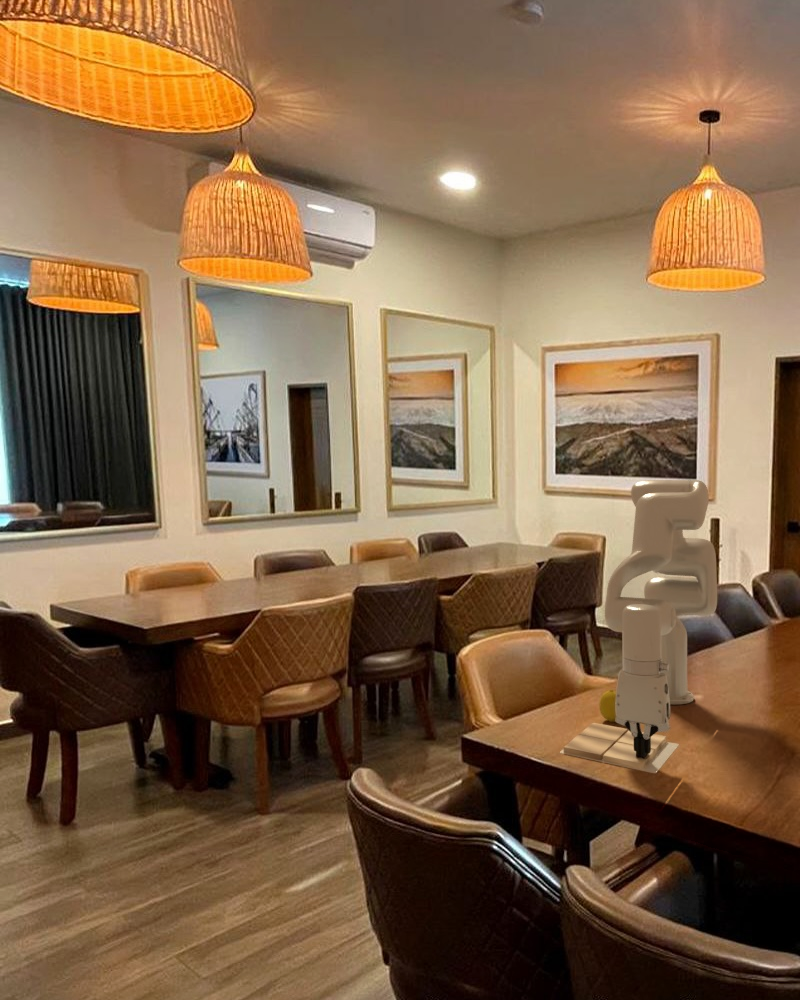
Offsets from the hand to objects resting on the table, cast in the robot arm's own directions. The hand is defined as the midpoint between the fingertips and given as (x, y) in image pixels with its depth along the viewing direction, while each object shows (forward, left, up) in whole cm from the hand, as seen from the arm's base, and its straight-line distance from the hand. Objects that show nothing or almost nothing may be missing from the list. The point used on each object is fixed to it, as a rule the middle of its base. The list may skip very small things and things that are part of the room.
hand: (642, 755), depth 149 cm
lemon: (-20, -13, -2) cm, 24 cm away
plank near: (0, -3, -1) cm, 3 cm away
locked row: (-5, -11, -1) cm, 12 cm away
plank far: (-9, -3, -1) cm, 10 cm away
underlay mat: (-5, -6, -2) cm, 8 cm away
